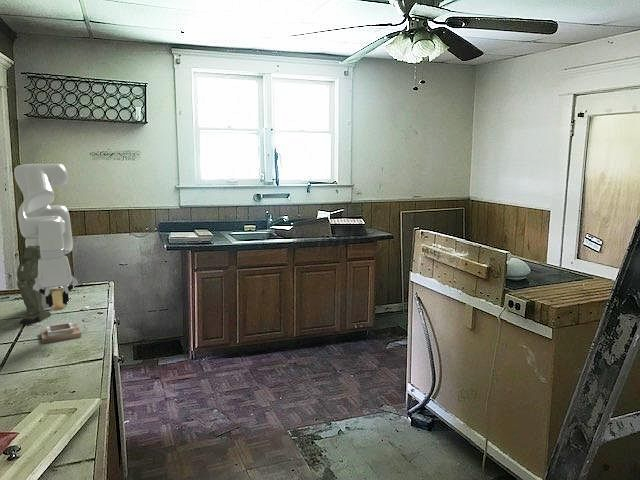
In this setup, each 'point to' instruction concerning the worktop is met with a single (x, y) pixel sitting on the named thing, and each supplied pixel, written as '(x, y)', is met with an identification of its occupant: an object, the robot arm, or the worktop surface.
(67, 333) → the fitting board
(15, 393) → the worktop surface
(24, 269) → the mechanical leg
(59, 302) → the cylinder
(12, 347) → the worktop surface
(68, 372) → the worktop surface
